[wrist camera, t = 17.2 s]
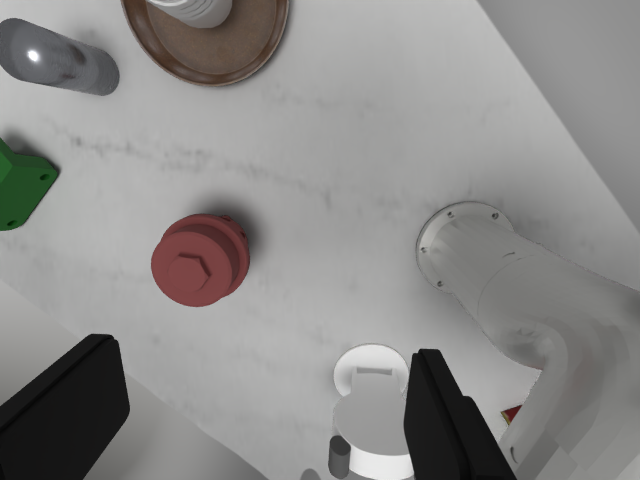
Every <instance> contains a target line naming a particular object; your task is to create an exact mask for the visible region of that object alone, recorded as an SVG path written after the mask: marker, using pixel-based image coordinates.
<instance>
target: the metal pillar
mask: <svg viewBox="0 0 640 480" xmlns="http://www.w3.org/2000/svg"><path fill="white" fill-rule="evenodd" d="M0 65H1V66H2V67H3V69H4V70H5V71H6V72H7V73H9V74H10V75H11V76H13V77H14V78H16V79H18V80H21V81H26V82H31V83H36V84H42V85H47V86H52V87H57V88H63V89H68V90H73V91H79V92H84V93H89V94H94V95H100V96H104V95H108V94H110V93H112V92H113V91H114V90H115V89H116V87H117V85H118V83H119V71H118V67H117V65H116V63H115V61H114V60H113V59H112V57H111V56H110V55H108V54H107V53H106V52H104V51H102V50H99V49H97V48H94V47H92V46H89V45H86V44H84V43H81V42H79V41H76V40H74V39H71V38H68V37H66V36H63V35H61V34H58V33H56V32H53V31H50V30H48V29H45V28H43V27H40V26H37V25H35V24H32V23H30V22H27V21H25V20H22V19H17V18H10V19H7V20H4V21H3V22H1V23H0Z"/></svg>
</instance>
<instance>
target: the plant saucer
mask: <svg viewBox="0 0 640 480" xmlns="http://www.w3.org/2000/svg"><path fill="white" fill-rule="evenodd" d="M121 4H122V8H123V11H124V15H125V17H126V20H127V23H128V25H129V27H130V29H131V31H132V33H133V35H134V37H135V39H136V40H137V42H138V43H139V45H140V46H141V48H142V49H143V50H144V52H145V53H146V54H147V55H148V56H149V57H150V58H151V59H152V60H153V61H154V62H155V63H156V64H157V65H158V66H159V67H160V68H162V69H163V70H164V71H166V72H167V73H169V74H171V75H172V76H174V77H176V78H178V79H180V80H183V81H185V82H188V83H191V84H195V85H201V86H223V85H228V84H232V83H235V82H238V81H240V80H243V79H245V78H246V77H248V76H250V75H251V74H253V73H254V72H255V71H257V70H258V69H259V68H260V67H261V66H262V65H263V64H264V63H265V62H266V61H267V60H268V59H269V57H270V56H271V55H272V53H273V52H274V50H275V49H276V47H277V45H278V43H279V41H280V39H281V36H282V34H283V31H284V28H285V24H286V20H287V15H288V7H289V0H232V7H231V10H230V13H229V15H228V16H227V18H226V19H225V21H223V22H222V23H221V24H220V25H218V26H215V27H213V28H195V27H191V26H189V25H187V24H185V23H183V22H181V21H180V20H179V19H177V18H175V17H173V16H171V15H169V14H167V13H166V12H164V11H163V10H161V9H159V8H158V7H156V6H154V5H153V4H151V3H150V2H148V1H146V0H121Z"/></svg>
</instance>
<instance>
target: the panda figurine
mask: <svg viewBox="0 0 640 480" xmlns="http://www.w3.org/2000/svg"><path fill="white" fill-rule="evenodd" d="M408 378H409V372H408V367H407V365H406V362H405V360H404V359H403V357H402V356H401V355H400V354H399V353H398V352H397V351H395V350H394V349H392V348H390V347H388V346H385V345H382V344H375V343H368V344H362V345H358V346H355V347H353V348H351V349H349V350H348V351H346V352H345V353H344V354H343V355H342V356H341V357H340V358H339V360H338V361H337V363H336V366H335V369H334V382H335V386H336V388H337V390H338V391H339V393H340V394H341V395H342V396H343V398H341V399H340V400H339V401H338V403H337V404H336V406H335V407H334V412H333V426H332V438H331V440H330V448H329V462H328V467H329V471H330V473H331V474H332V475H333V476H334V477H336V478H338V479H343V478H345V477H346V476H347V475H348V472H349V469H351V470H352V471H353V472H355V473H357V474H359V475H361V476H364V477H368V478H372V479H377V480H401V479H405V478H408V477H410V476H411V475H413V474H414V470H413V466H412V462H411V458H410V454H409V450H408V446H407V442H406V438H405V434H404V427H403V421H404V413H405V406H406V400H404V399H403V397H402V392H403V391H404V389H405V388H406V385H407V383H408ZM414 479H415V480H416V478H415V474H414Z"/></svg>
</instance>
